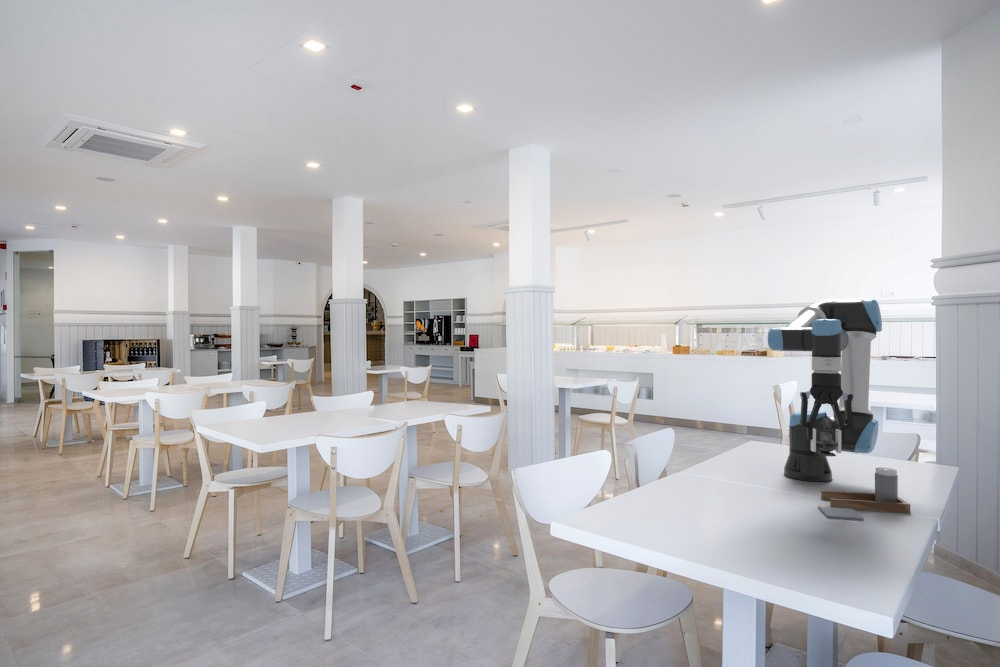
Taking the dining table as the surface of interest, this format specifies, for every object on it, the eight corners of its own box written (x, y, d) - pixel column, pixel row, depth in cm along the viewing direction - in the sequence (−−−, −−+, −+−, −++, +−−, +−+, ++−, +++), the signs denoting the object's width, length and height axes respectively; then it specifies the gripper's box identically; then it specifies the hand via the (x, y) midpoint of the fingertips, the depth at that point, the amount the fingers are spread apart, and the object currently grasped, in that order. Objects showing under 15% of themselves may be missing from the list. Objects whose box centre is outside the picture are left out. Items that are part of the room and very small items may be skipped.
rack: (820, 498, 179) (820, 490, 179) (894, 502, 174) (894, 494, 174) (831, 508, 169) (831, 499, 169) (910, 513, 164) (910, 504, 164)
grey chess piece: (840, 457, 164) (840, 415, 164) (817, 455, 166) (817, 414, 166) (833, 453, 170) (833, 412, 170) (811, 452, 171) (811, 411, 172)
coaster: (817, 508, 168) (817, 506, 168) (852, 510, 166) (852, 508, 166) (827, 517, 160) (827, 515, 160) (863, 520, 157) (863, 518, 157)
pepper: (871, 503, 173) (871, 466, 173) (892, 504, 172) (892, 467, 172) (879, 508, 168) (879, 471, 168) (901, 510, 166) (901, 472, 166)
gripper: (793, 371, 167) (792, 451, 167) (867, 373, 162) (866, 456, 162) (788, 370, 174) (787, 447, 174) (858, 372, 169) (858, 451, 169)
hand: (825, 451), depth 168 cm, fingers closed on grey chess piece, 6 cm apart
